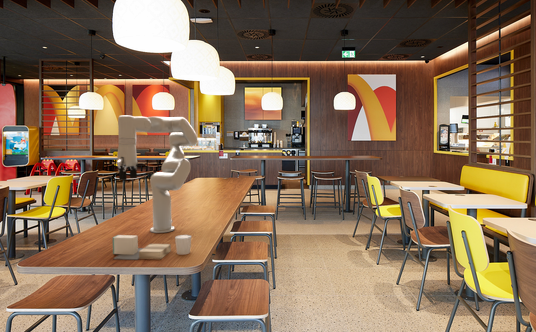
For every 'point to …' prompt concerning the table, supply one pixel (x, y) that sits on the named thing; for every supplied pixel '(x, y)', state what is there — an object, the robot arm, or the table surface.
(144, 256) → the birch step
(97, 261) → the table surface
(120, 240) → the cream block
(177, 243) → the pale pink cylinder
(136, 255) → the grey mat
